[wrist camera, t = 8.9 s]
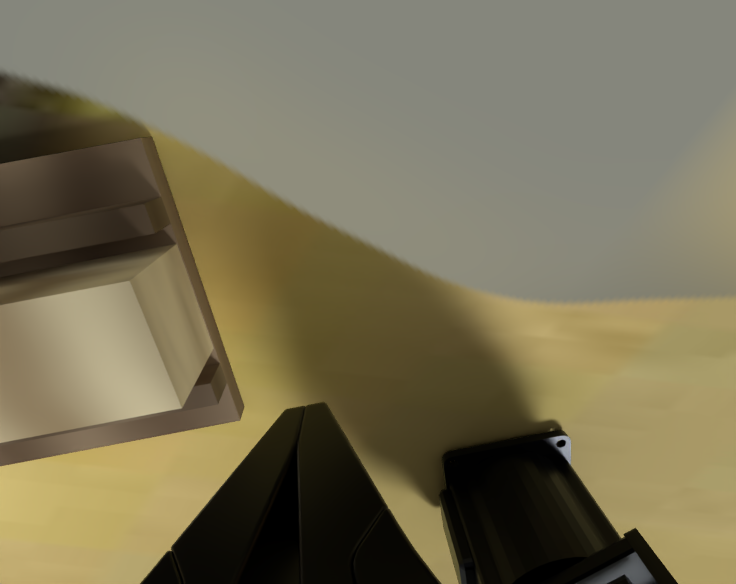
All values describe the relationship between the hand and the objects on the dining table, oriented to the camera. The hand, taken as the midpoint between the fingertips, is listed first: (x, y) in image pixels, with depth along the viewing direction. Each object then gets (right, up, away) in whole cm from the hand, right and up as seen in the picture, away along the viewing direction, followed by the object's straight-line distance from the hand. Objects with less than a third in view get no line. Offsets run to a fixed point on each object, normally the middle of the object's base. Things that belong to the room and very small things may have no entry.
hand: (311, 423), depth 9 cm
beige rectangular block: (-10, +1, +8) cm, 13 cm away
